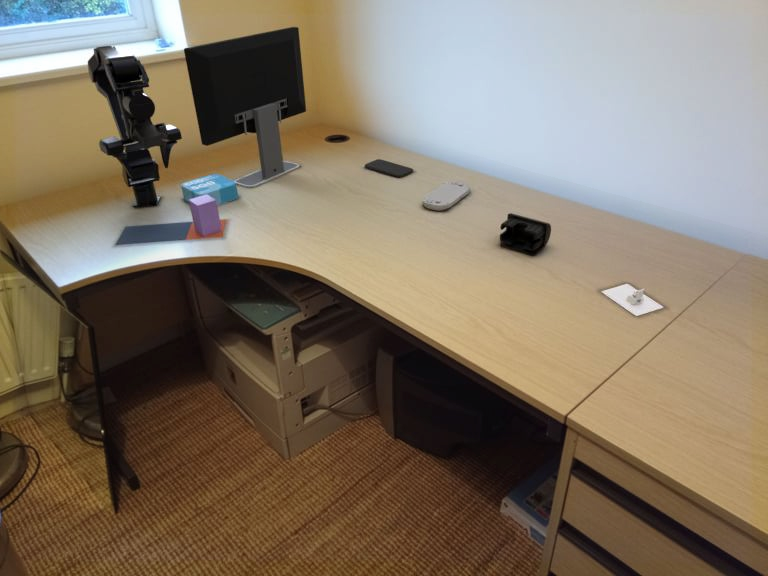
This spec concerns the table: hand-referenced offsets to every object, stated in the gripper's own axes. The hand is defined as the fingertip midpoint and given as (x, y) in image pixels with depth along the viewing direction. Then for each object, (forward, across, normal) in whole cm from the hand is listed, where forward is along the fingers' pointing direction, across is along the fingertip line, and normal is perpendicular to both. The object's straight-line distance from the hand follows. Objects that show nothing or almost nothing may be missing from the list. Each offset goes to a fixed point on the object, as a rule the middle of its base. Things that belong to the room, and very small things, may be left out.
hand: (149, 172), depth 151 cm
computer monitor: (+13, +38, +8) cm, 41 cm away
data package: (+11, +17, -3) cm, 20 cm away
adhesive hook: (+13, +54, -105) cm, 119 cm away
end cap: (+13, +57, -76) cm, 96 cm away
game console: (+13, +64, -44) cm, 79 cm away
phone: (+13, +68, -16) cm, 71 cm away
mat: (+13, -1, -11) cm, 17 cm away
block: (+13, +6, -16) cm, 22 cm away
